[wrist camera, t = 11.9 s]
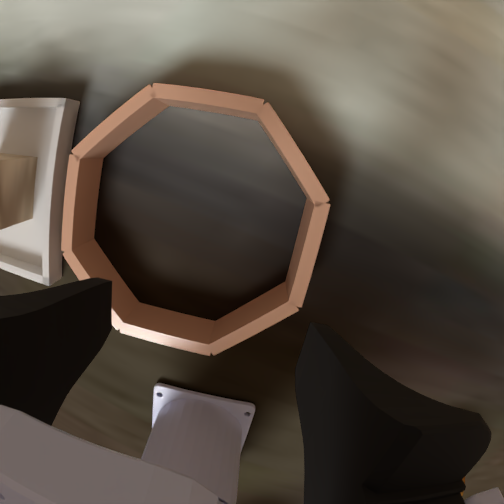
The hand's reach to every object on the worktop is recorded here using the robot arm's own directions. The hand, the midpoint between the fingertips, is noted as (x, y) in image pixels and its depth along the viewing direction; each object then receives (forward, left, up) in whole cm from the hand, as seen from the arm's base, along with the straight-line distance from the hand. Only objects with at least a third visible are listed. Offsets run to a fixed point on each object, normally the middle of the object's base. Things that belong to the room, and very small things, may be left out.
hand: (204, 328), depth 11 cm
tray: (+2, +17, -9) cm, 19 cm away
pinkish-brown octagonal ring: (+2, +3, -9) cm, 10 cm away
